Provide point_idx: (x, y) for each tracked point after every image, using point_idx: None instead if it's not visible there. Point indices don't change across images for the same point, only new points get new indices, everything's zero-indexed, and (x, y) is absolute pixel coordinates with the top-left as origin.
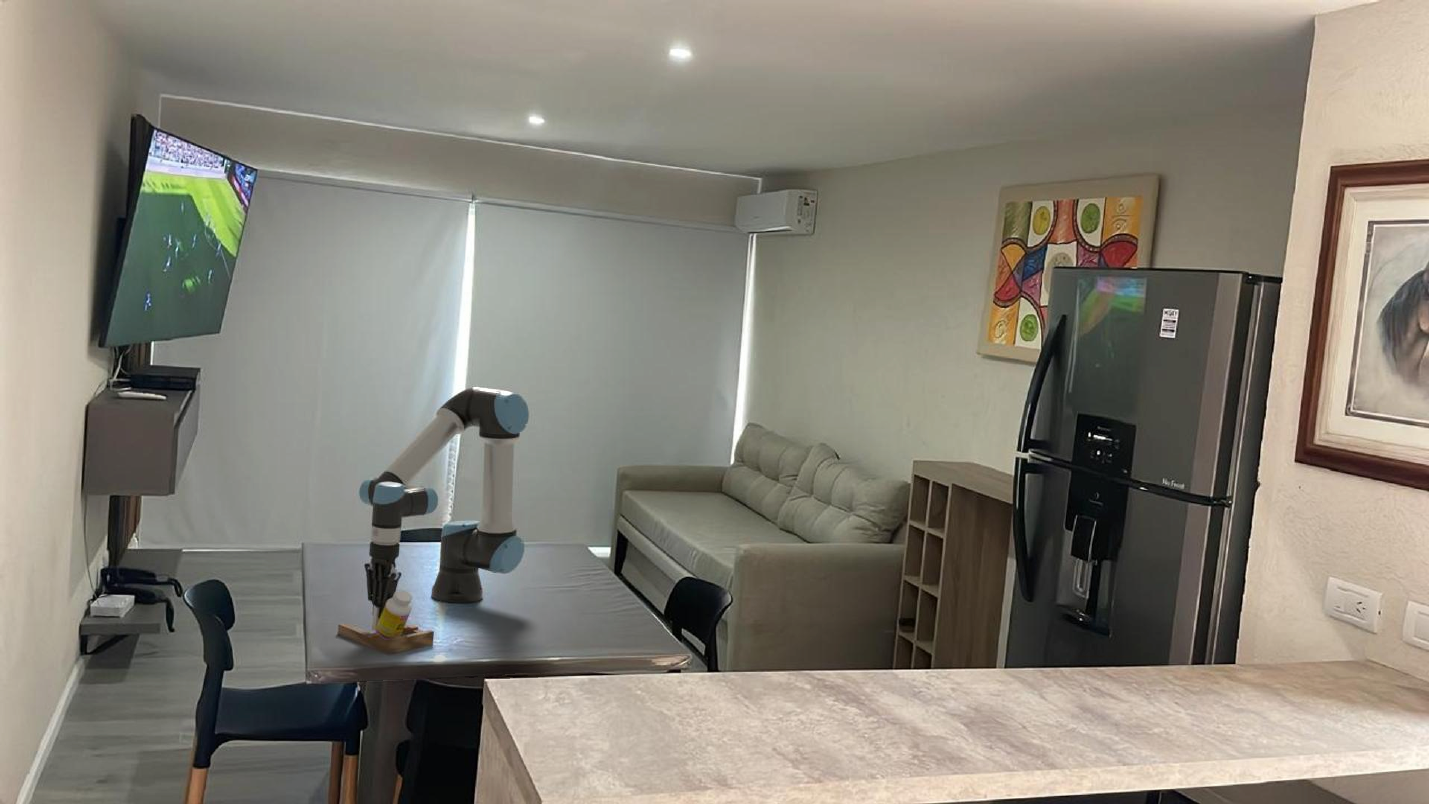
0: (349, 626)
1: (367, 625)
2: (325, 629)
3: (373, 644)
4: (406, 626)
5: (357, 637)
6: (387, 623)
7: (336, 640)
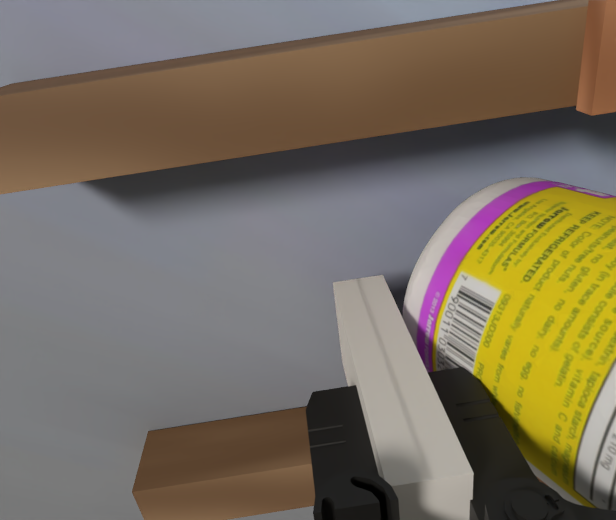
0: (240, 494)
1: (5, 225)
2: (42, 496)
3: None
4: (513, 69)
5: None
6: None
7: (299, 509)
